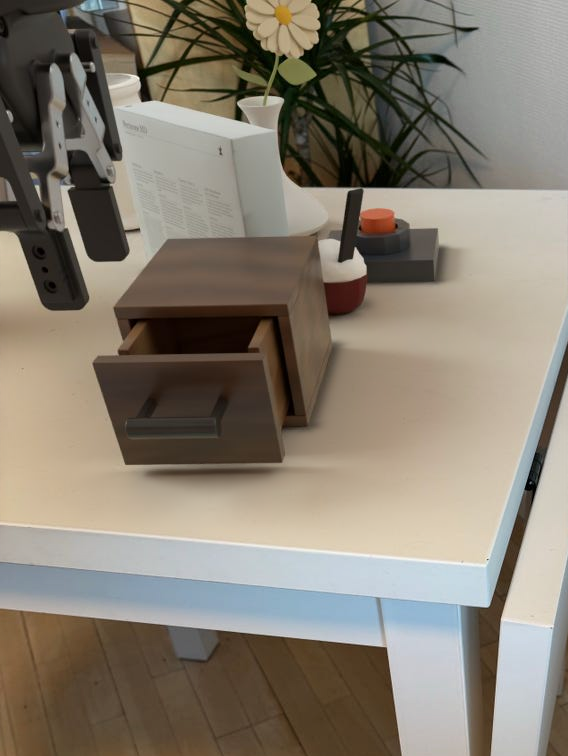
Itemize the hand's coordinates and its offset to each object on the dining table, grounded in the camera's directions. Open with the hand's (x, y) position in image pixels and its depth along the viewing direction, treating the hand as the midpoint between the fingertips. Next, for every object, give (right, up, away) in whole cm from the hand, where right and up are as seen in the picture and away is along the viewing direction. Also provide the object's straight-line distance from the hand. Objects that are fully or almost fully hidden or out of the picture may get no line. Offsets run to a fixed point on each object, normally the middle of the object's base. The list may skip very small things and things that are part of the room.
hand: (89, 281), depth 48 cm
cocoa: (+7, +13, +42) cm, 44 cm away
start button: (+10, +24, +48) cm, 55 cm away
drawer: (+1, -3, +22) cm, 22 cm away
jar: (-23, +33, +64) cm, 75 cm away
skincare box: (-6, +17, +46) cm, 50 cm away
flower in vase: (-2, +29, +59) cm, 66 cm away
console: (+10, +22, +50) cm, 56 cm away
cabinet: (+1, +3, +30) cm, 30 cm away
